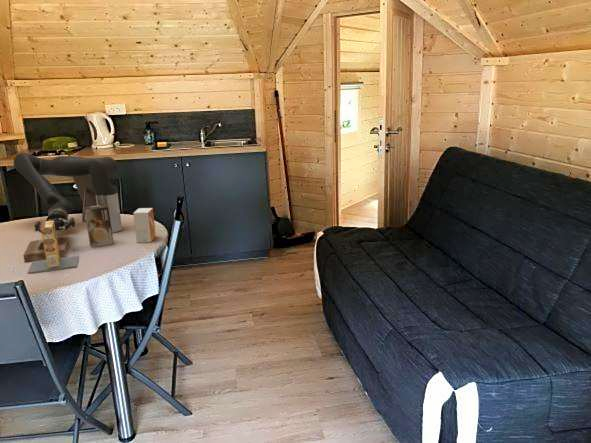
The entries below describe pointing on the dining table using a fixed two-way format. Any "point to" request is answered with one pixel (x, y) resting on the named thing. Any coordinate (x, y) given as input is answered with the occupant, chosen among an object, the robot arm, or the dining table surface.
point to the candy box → (50, 244)
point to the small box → (144, 224)
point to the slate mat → (43, 267)
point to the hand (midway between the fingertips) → (53, 229)
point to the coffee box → (98, 225)
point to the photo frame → (85, 191)
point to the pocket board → (36, 252)
